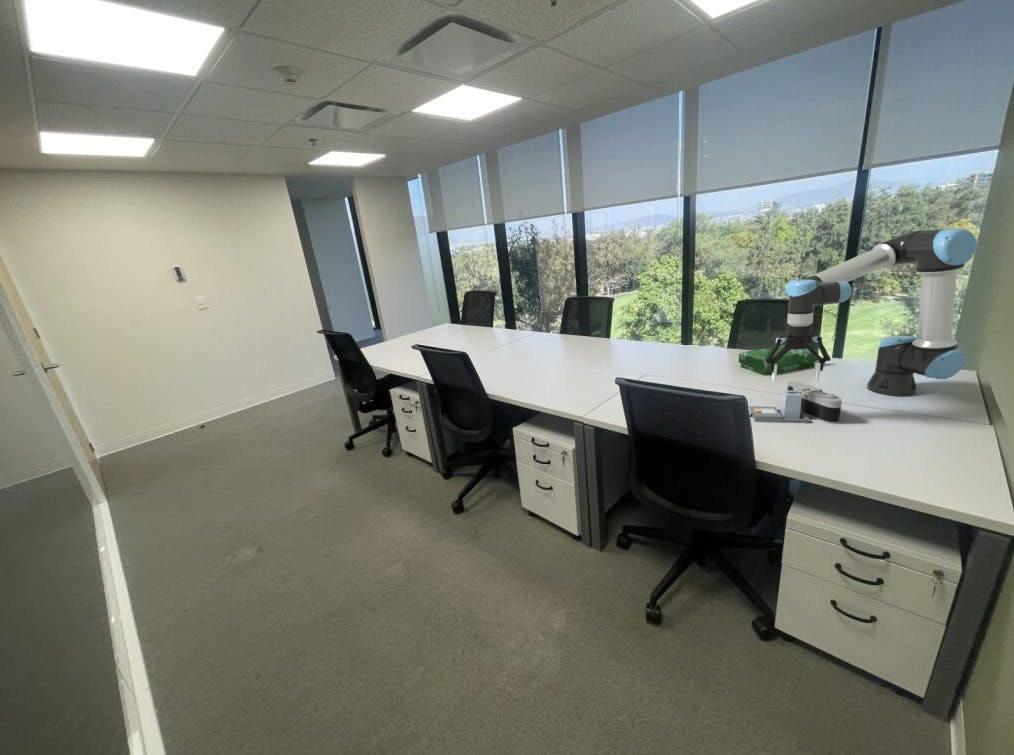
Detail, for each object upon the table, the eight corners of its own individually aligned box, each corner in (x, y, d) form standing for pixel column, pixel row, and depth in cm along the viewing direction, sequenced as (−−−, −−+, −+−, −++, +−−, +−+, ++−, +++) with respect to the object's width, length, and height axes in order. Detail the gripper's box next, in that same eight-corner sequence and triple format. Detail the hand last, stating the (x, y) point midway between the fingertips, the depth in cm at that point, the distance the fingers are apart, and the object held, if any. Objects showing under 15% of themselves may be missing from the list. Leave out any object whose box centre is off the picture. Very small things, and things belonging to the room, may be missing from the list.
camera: (850, 420, 149) (854, 395, 146) (828, 425, 148) (831, 400, 145) (799, 401, 170) (802, 378, 167) (779, 405, 169) (781, 382, 166)
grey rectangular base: (800, 412, 160) (801, 405, 159) (809, 423, 151) (810, 415, 150) (740, 411, 167) (740, 404, 166) (745, 421, 158) (746, 414, 157)
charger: (794, 414, 159) (797, 390, 156) (799, 419, 154) (801, 394, 151) (780, 414, 161) (782, 390, 158) (783, 419, 156) (786, 394, 153)
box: (764, 379, 198) (765, 359, 195) (736, 370, 216) (737, 352, 213) (818, 369, 204) (820, 350, 201) (787, 360, 221) (789, 343, 218)
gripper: (836, 319, 145) (830, 375, 152) (757, 324, 154) (754, 377, 160) (846, 323, 139) (839, 382, 145) (762, 328, 147) (759, 383, 153)
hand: (794, 379), depth 152 cm, fingers open, 13 cm apart
